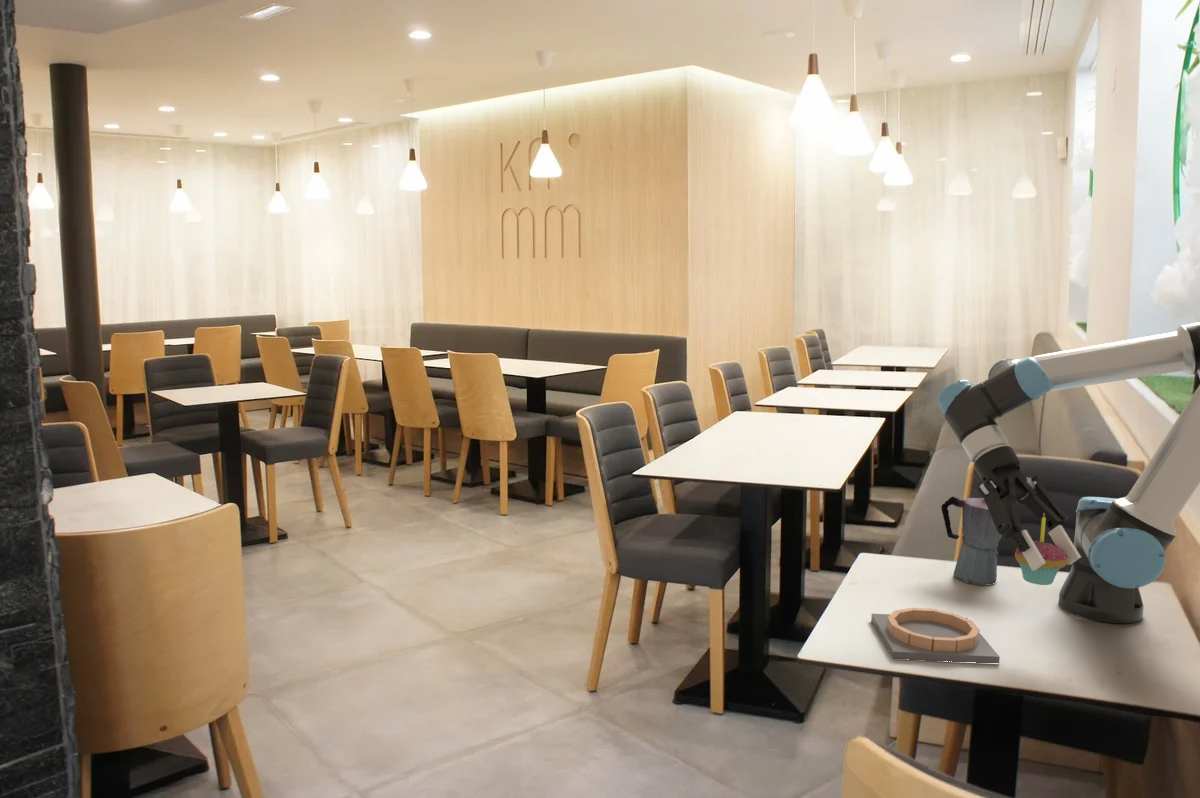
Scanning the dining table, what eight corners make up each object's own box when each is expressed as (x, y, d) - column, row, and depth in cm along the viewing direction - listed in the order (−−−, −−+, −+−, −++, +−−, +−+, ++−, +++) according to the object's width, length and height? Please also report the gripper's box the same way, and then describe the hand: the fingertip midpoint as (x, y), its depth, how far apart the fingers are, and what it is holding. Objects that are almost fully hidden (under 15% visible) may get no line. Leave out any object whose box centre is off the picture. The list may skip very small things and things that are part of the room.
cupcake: (1010, 570, 174) (1016, 507, 172) (1061, 576, 171) (1068, 512, 169) (1015, 585, 166) (1022, 519, 164) (1068, 592, 163) (1076, 524, 161)
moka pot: (1015, 589, 202) (1023, 498, 199) (939, 583, 205) (946, 493, 202) (1005, 575, 211) (1013, 488, 209) (933, 569, 214) (940, 483, 212)
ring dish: (966, 625, 181) (967, 608, 181) (998, 664, 164) (1000, 645, 163) (871, 620, 183) (872, 603, 182) (893, 659, 165) (894, 640, 164)
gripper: (1018, 462, 184) (1082, 566, 172) (937, 470, 175) (1000, 581, 163) (1044, 440, 178) (1112, 547, 167) (962, 447, 169) (1028, 560, 157)
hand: (1056, 563), depth 165 cm, fingers closed on cupcake, 8 cm apart
